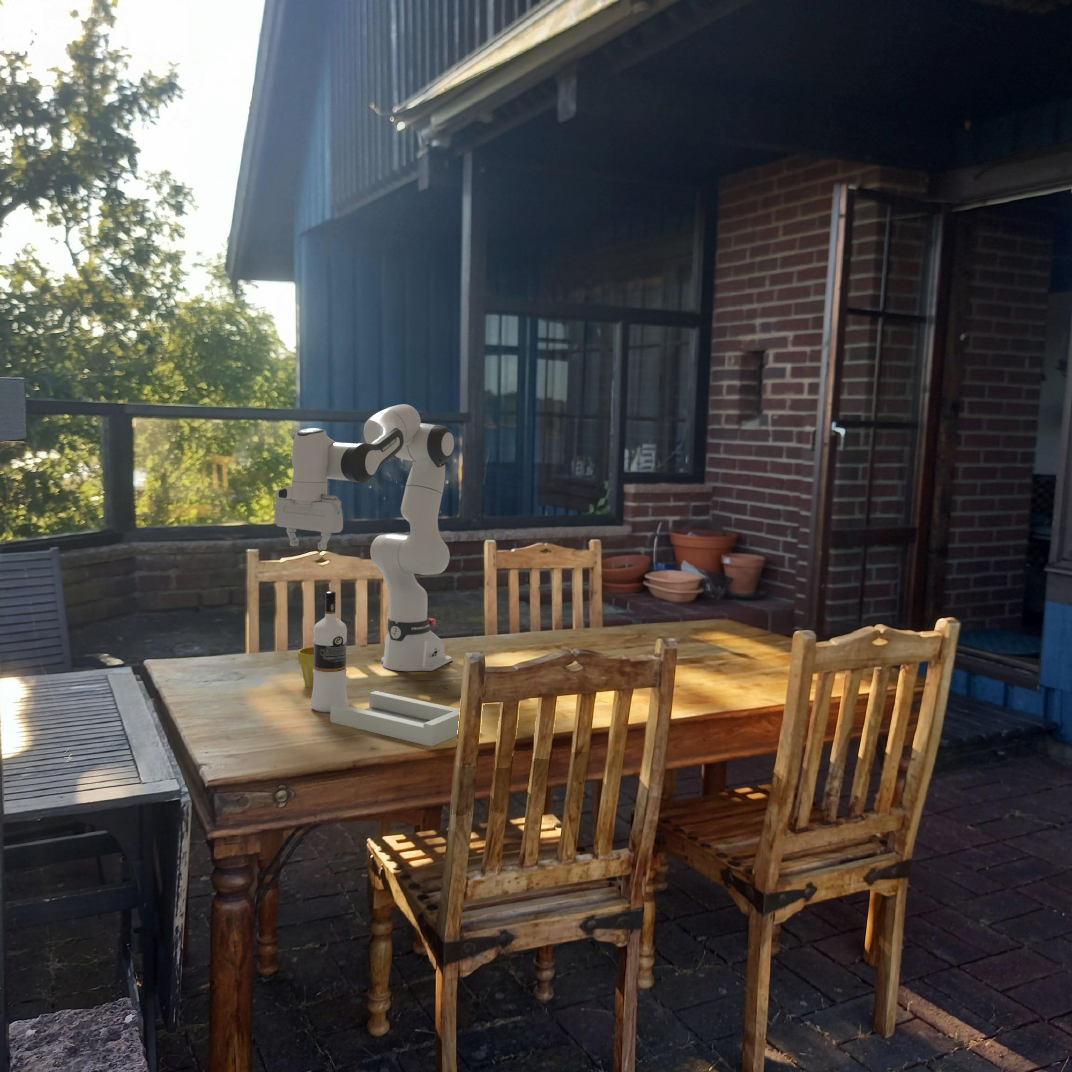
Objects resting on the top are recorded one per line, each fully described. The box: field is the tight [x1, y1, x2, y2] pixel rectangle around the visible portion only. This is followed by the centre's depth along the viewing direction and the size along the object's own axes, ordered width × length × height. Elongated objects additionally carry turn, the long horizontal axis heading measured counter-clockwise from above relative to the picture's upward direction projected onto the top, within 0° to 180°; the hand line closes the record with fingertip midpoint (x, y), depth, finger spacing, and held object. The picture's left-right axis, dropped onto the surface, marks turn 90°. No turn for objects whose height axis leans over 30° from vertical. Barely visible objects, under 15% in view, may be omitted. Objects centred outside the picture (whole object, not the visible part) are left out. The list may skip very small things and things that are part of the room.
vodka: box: [310, 590, 349, 714], centre depth 262 cm, size 9×9×30 cm
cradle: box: [329, 690, 461, 747], centre depth 251 cm, size 17×30×5 cm, turn 59°
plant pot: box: [297, 646, 314, 689], centre depth 284 cm, size 10×10×10 cm
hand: (308, 547), depth 263 cm, fingers open, 8 cm apart
